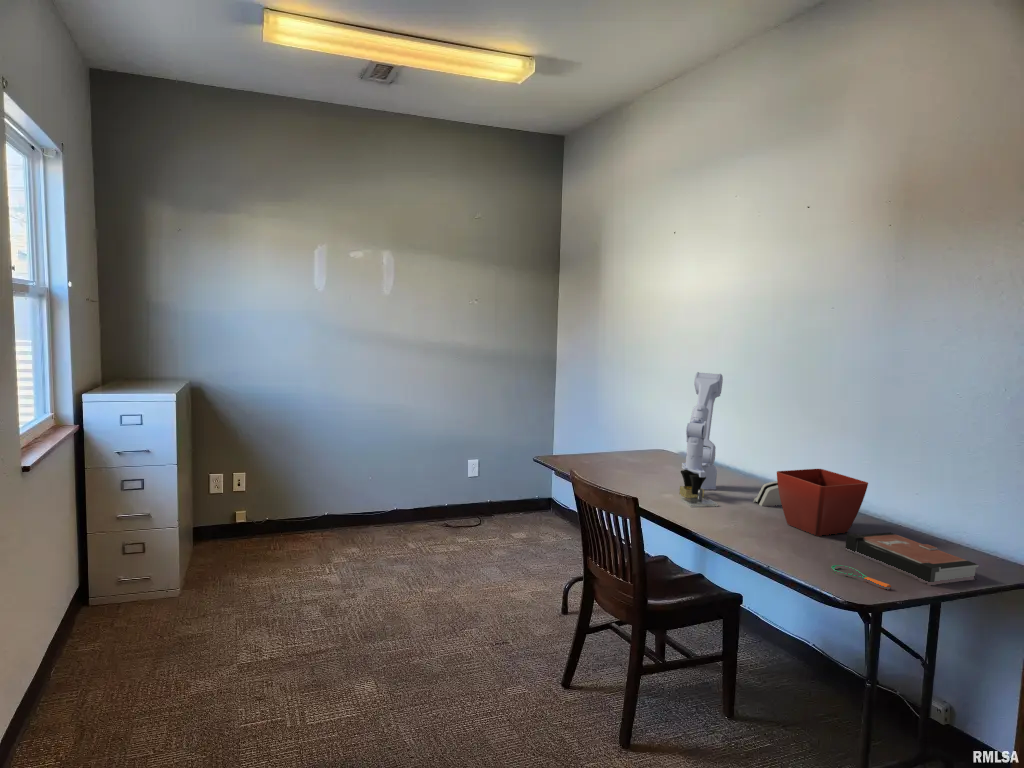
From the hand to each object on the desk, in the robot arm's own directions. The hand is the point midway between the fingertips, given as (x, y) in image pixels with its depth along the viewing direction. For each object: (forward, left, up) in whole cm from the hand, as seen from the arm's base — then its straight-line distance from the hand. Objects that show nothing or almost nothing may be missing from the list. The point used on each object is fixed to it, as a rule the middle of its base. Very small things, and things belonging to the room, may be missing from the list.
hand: (691, 492), depth 243 cm
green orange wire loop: (-8, +77, -2) cm, 78 cm away
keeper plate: (+2, +10, -1) cm, 10 cm away
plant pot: (-23, +39, -2) cm, 45 cm away
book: (-30, +69, -2) cm, 75 cm away
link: (0, 0, -1) cm, 1 cm away
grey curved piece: (-28, +12, -2) cm, 30 cm away
